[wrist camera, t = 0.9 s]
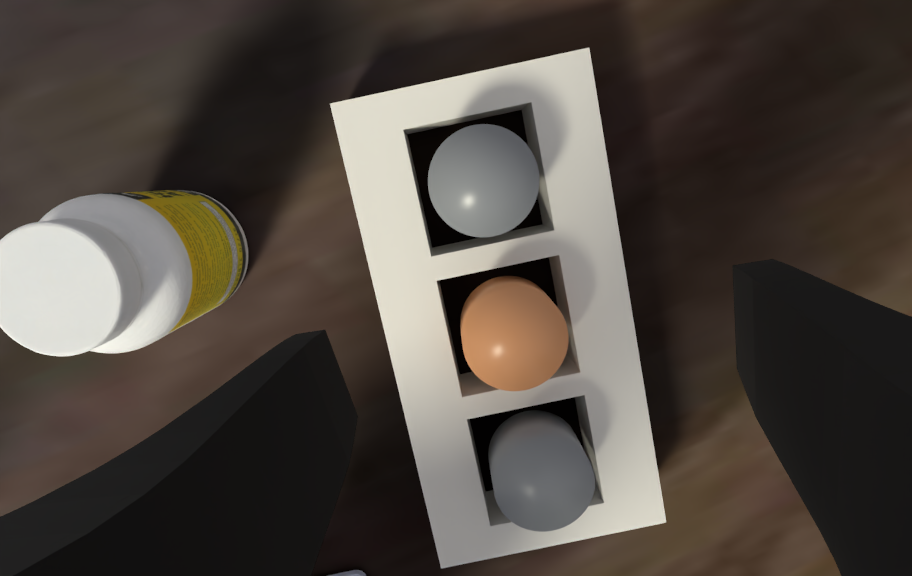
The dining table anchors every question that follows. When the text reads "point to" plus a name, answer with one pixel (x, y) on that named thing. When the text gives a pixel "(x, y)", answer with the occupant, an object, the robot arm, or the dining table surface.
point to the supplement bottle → (118, 270)
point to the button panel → (559, 237)
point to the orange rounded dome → (512, 334)
